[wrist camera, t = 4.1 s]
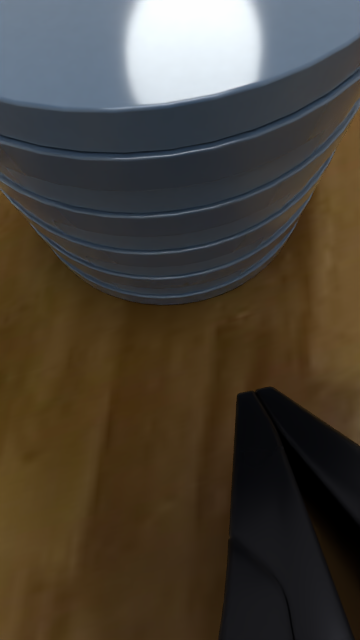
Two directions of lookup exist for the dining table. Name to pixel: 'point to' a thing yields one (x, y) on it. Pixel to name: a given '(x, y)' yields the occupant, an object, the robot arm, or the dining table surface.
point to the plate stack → (172, 132)
